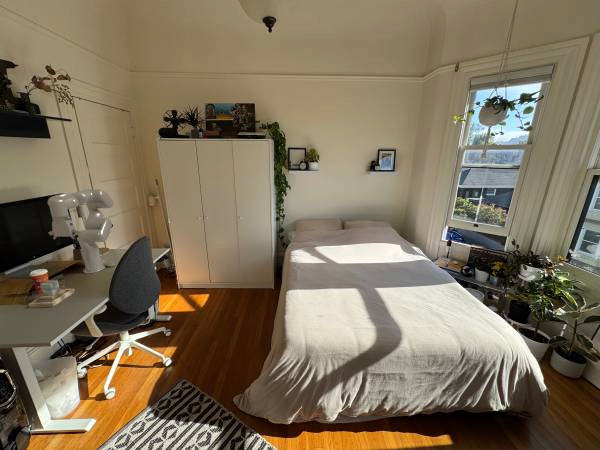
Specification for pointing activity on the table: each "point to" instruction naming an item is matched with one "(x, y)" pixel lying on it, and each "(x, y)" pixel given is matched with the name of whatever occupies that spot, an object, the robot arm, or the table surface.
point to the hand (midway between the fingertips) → (67, 244)
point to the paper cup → (39, 278)
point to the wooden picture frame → (51, 302)
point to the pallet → (50, 290)
